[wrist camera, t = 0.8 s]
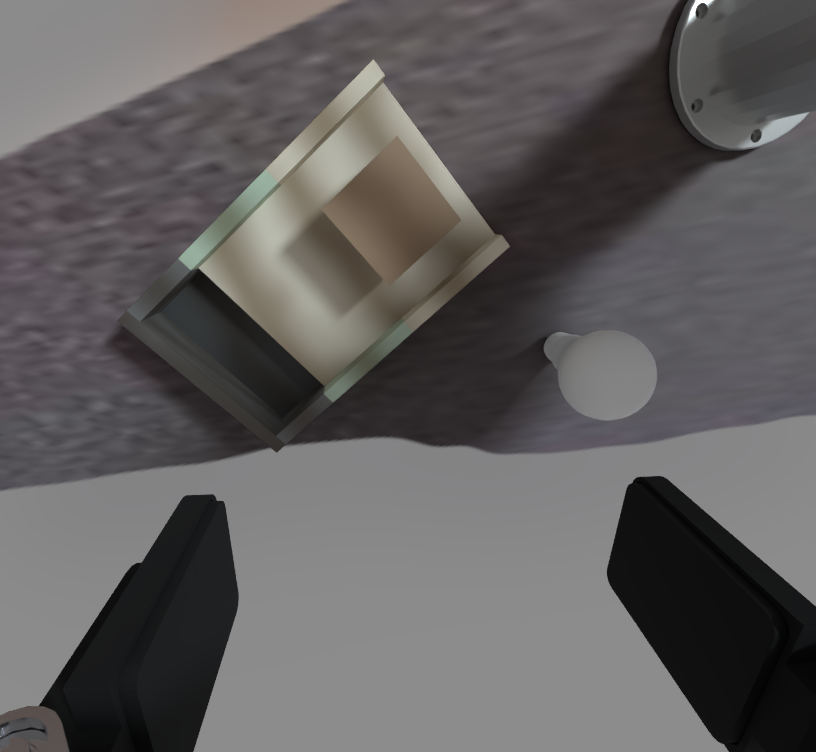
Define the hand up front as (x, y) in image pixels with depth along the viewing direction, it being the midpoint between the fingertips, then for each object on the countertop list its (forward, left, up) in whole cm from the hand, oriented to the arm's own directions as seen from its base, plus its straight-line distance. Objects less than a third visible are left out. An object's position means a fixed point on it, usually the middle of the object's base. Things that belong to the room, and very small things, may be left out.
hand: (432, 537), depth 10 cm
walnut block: (-5, -5, -24) cm, 25 cm away
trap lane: (+2, -5, -26) cm, 26 cm away
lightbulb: (-9, +12, -26) cm, 30 cm away
